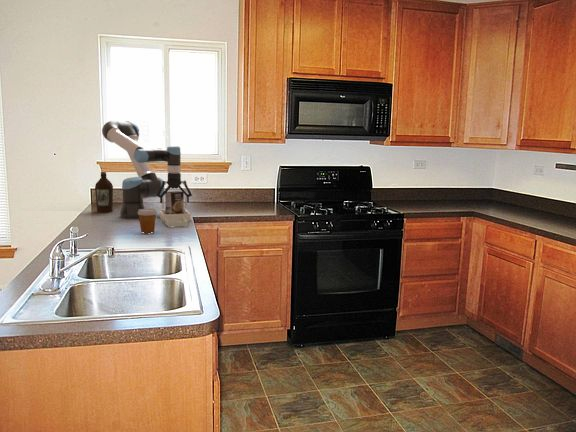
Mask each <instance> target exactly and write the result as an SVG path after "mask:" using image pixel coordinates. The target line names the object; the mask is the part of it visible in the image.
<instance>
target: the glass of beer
mask: <svg viewBox="0 0 576 432" xmlns="http://www.w3.org/2000/svg"><path fill="white" fill-rule="evenodd" d="M157 212H158V211H157V210H156V209H155V208H145V209H140V210H138V215H139V218H138V219H139V225H140V233H141V232H144V233H151V232H154V233H155V227H156V217H157Z"/></svg>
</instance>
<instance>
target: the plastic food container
mask: <svg viewBox="0 0 576 432" xmlns="http://www.w3.org/2000/svg"><path fill="white" fill-rule="evenodd" d="M158 211H159V213H158V215H159V219H160V220H161V221H162V222H163V221H165V220H164V218H170V217H184V218H185V219H186V220H187V221H188V222H189V221H191V217H192V216H191V212H189V210H187V208H184V214H166V209H159V210H158Z"/></svg>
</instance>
